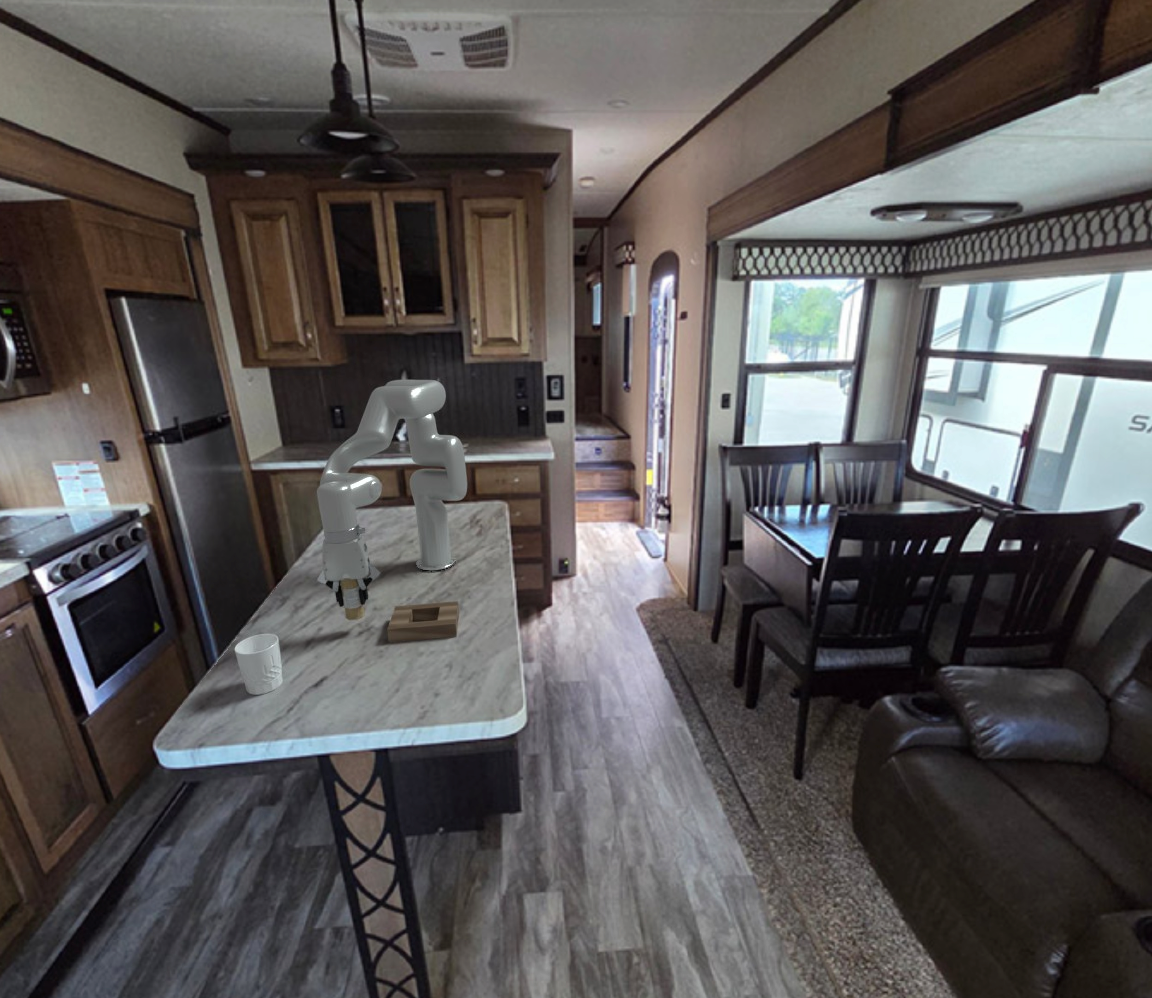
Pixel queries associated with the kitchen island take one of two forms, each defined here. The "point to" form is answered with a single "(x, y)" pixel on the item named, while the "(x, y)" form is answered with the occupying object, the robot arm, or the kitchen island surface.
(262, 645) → the white cup
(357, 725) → the kitchen island surface
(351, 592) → the sprinkles bottle
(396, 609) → the walnut holder
